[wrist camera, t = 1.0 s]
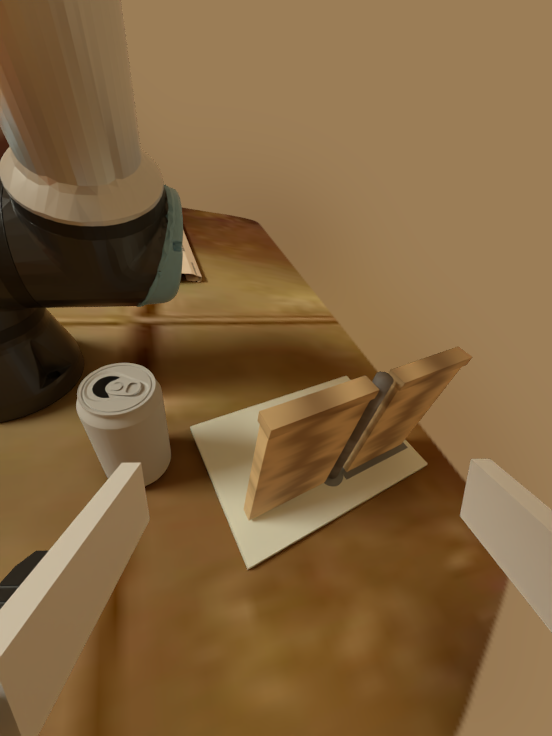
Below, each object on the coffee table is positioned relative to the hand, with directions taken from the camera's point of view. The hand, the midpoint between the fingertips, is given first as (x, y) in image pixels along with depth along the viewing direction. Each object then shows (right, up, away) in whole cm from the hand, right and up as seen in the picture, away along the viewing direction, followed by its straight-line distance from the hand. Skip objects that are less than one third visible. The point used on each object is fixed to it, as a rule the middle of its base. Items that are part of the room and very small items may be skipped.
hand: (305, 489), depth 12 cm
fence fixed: (+10, -5, +25) cm, 27 cm away
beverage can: (-16, -5, +20) cm, 26 cm away
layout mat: (+3, -5, +24) cm, 25 cm away
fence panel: (+1, -8, +19) cm, 21 cm away
